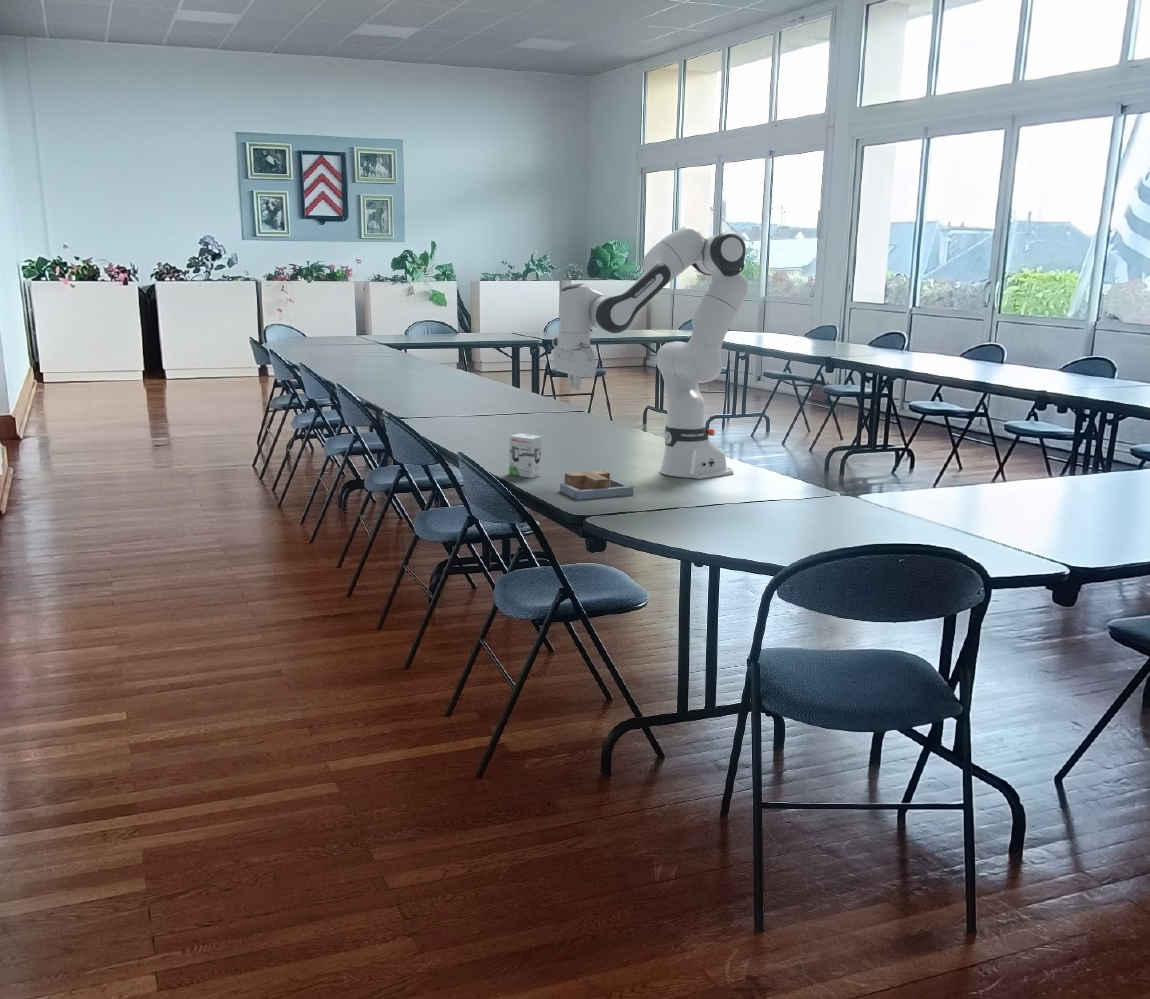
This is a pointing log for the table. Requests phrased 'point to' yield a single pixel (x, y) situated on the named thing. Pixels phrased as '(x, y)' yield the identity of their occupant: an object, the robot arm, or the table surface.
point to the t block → (588, 480)
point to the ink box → (525, 455)
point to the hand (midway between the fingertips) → (575, 389)
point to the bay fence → (598, 491)
